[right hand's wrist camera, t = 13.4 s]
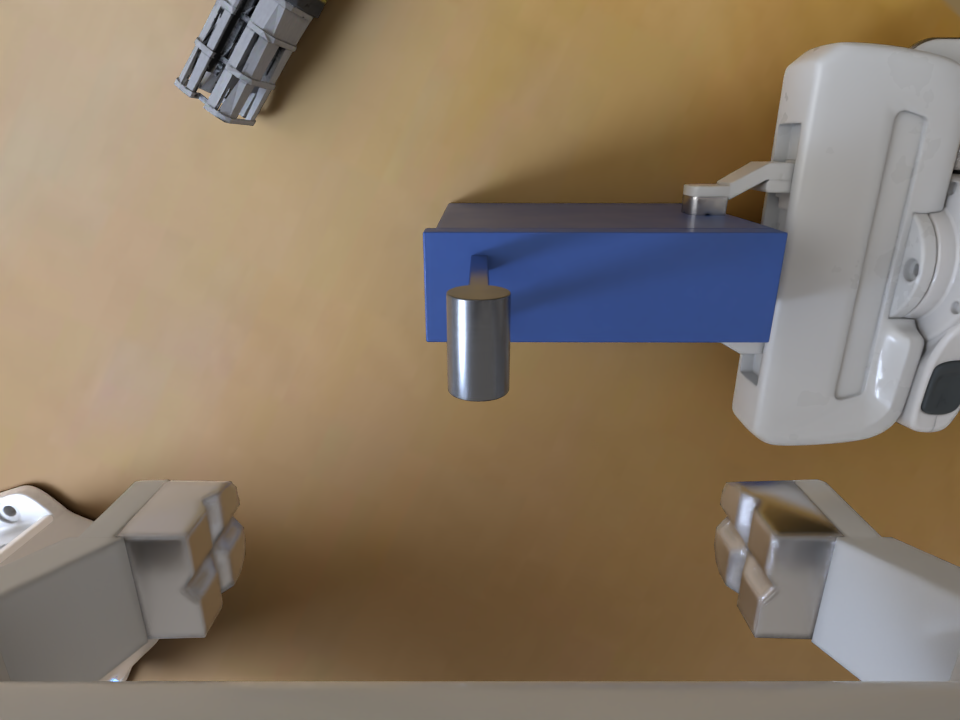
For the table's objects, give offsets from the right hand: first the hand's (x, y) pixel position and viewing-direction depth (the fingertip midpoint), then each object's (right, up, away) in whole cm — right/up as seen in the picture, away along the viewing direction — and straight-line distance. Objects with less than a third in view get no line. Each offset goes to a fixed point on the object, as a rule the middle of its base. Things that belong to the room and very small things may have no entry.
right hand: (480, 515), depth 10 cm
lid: (+5, +6, +16) cm, 18 cm away
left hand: (+10, +8, +21) cm, 25 cm away
